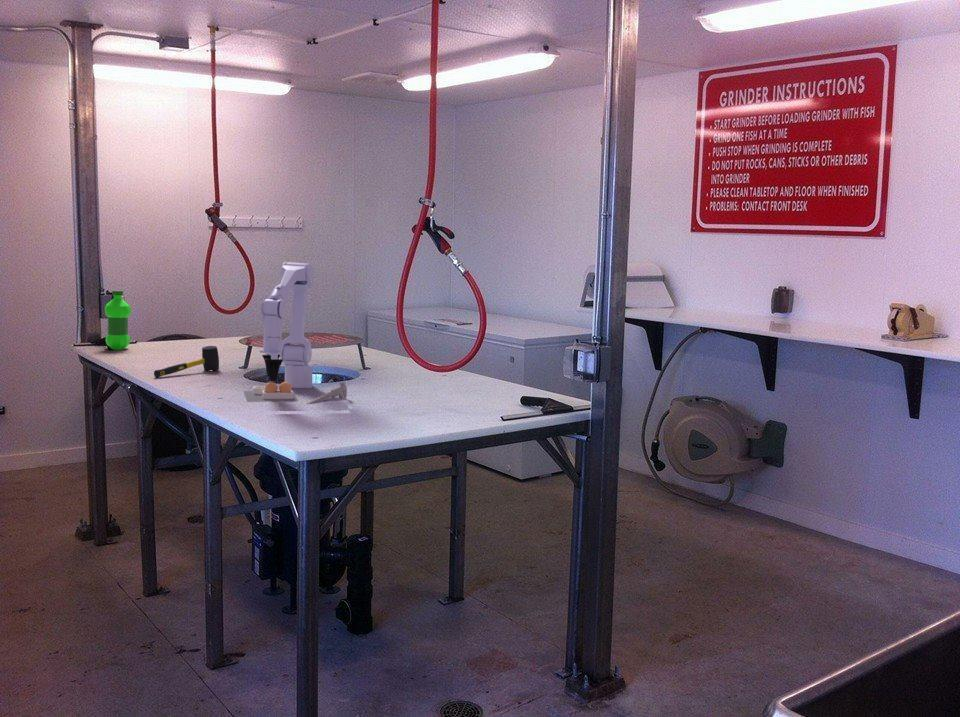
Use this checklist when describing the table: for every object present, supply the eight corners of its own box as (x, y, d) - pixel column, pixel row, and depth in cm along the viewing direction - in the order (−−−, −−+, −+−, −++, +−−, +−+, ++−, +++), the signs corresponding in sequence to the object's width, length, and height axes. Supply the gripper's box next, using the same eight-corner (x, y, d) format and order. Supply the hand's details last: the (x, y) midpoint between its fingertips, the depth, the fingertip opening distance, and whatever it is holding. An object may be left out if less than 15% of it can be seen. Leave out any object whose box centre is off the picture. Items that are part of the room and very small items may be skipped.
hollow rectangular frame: (291, 396, 290) (292, 390, 290) (293, 398, 286) (293, 392, 286) (261, 396, 287) (262, 390, 287) (263, 399, 283) (263, 392, 283)
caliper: (344, 399, 297) (344, 381, 296) (346, 399, 296) (347, 381, 295) (303, 407, 279) (304, 388, 278) (306, 408, 278) (306, 388, 278)
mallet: (161, 379, 314) (161, 352, 313) (149, 377, 317) (149, 351, 316) (222, 371, 339) (222, 346, 338) (211, 369, 342) (211, 344, 341)
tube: (265, 392, 295) (265, 386, 295) (266, 394, 291) (267, 388, 291) (252, 392, 294) (253, 386, 293) (253, 394, 290) (253, 388, 289)
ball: (276, 392, 288) (277, 380, 288) (278, 395, 284) (278, 383, 284) (264, 393, 287) (264, 380, 286) (265, 395, 283) (265, 383, 283)
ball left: (290, 392, 290) (291, 380, 289) (292, 395, 286) (292, 382, 285) (278, 392, 288) (278, 380, 288) (279, 395, 284) (279, 382, 284)
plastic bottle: (135, 349, 381) (135, 291, 378) (112, 350, 373) (112, 291, 370) (122, 346, 388) (122, 289, 384) (100, 348, 379) (99, 289, 376)
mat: (292, 393, 300) (292, 390, 300) (298, 404, 283) (298, 401, 283) (243, 394, 295) (243, 391, 294) (247, 404, 278) (247, 401, 278)
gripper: (258, 333, 289) (257, 374, 291) (261, 339, 275) (260, 382, 277) (280, 333, 291) (279, 374, 293) (284, 339, 277) (283, 382, 279)
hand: (271, 378), depth 285 cm, fingers open, 7 cm apart
